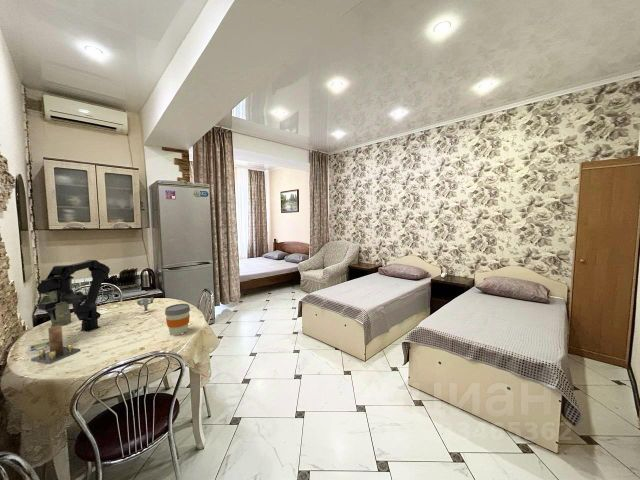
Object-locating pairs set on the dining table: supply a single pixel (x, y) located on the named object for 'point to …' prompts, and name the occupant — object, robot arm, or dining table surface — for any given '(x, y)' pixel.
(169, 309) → the reusable coffee cup
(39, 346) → the handheld gaming device
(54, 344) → the walnut post
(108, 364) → the dining table surface
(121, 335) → the dining table surface
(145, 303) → the mechanical component
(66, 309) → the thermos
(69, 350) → the chassis plate
